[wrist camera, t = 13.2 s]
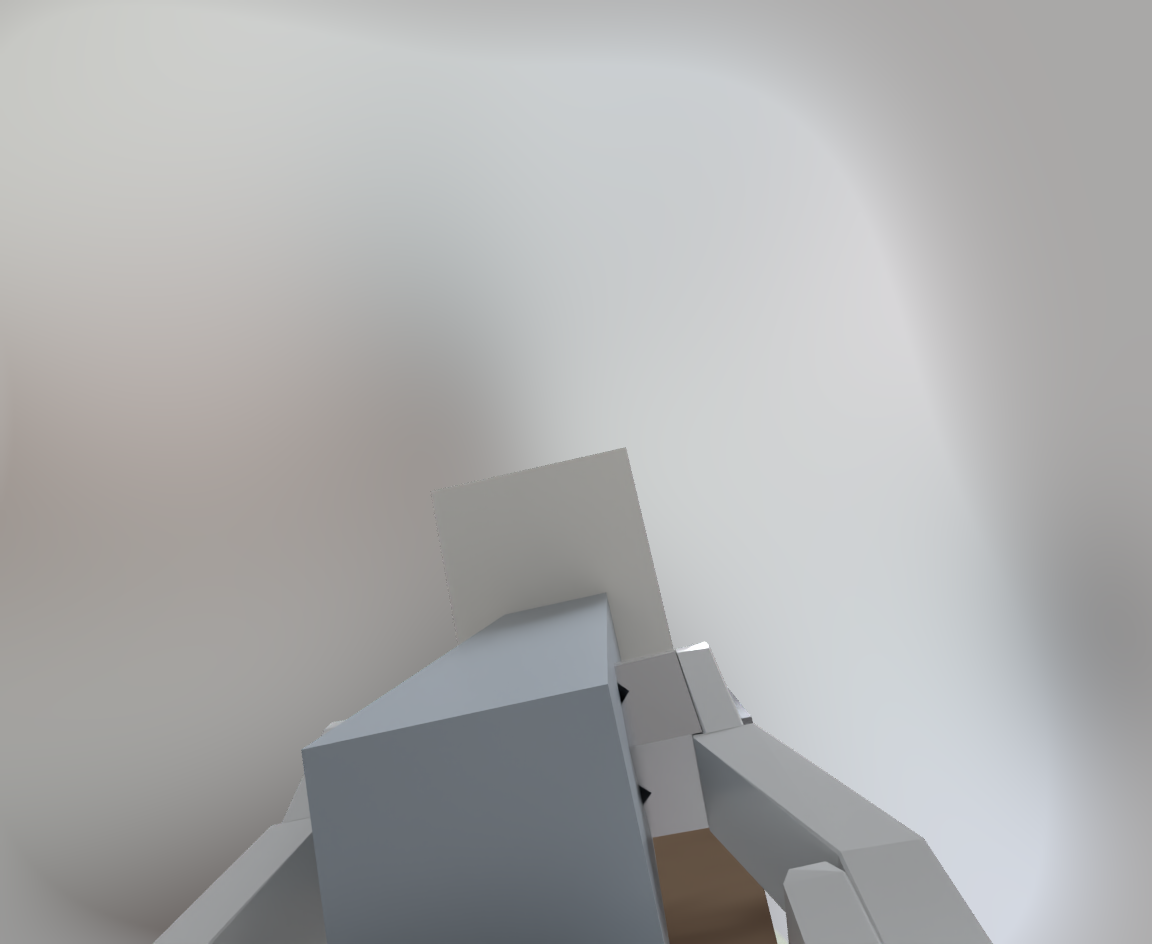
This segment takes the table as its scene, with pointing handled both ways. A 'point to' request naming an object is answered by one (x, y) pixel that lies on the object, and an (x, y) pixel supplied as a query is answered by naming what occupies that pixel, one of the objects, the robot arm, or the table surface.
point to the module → (505, 734)
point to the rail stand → (710, 888)
